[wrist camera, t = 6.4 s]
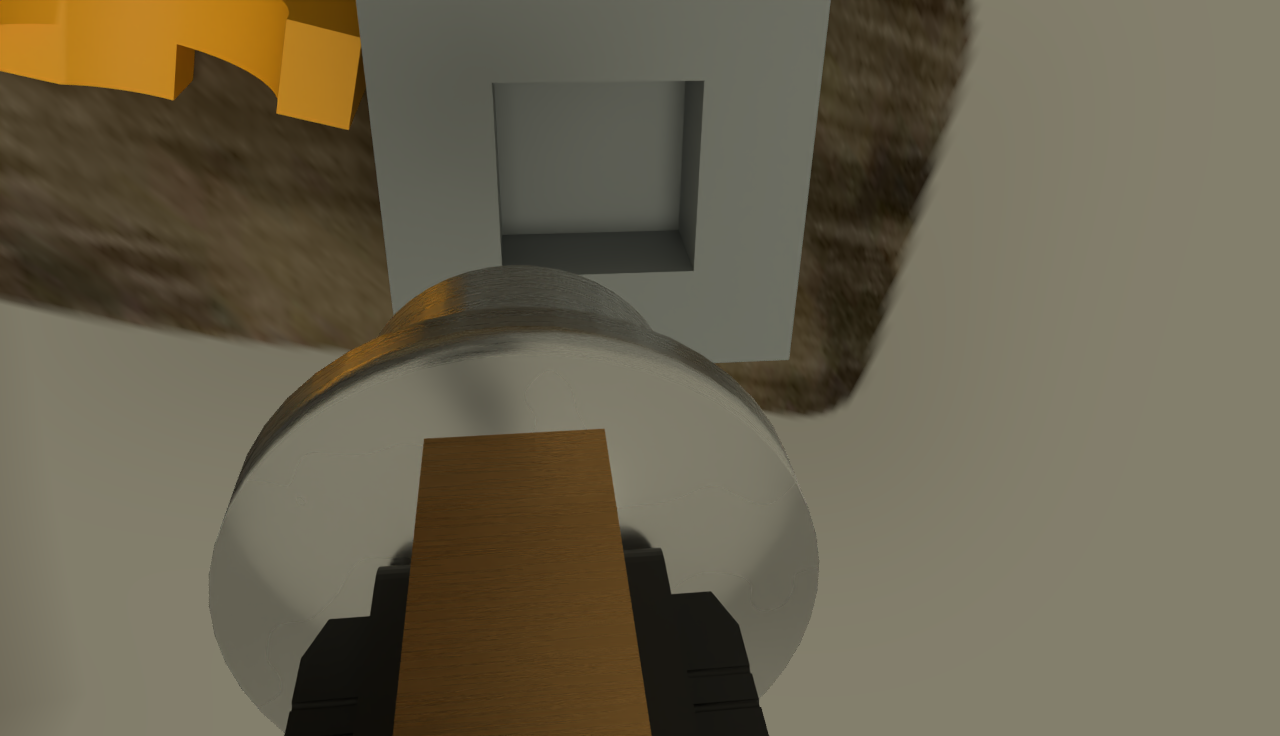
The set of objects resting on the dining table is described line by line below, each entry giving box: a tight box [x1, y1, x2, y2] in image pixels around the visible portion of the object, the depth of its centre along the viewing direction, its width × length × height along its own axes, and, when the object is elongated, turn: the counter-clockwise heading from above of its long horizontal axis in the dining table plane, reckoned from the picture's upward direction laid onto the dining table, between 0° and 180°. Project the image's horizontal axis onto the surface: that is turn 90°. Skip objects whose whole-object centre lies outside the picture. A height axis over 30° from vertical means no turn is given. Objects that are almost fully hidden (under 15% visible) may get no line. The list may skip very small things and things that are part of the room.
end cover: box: [209, 265, 819, 736], centre depth 11 cm, size 7×7×9 cm
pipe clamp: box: [0, 0, 366, 130], centre depth 29 cm, size 12×4×6 cm, turn 74°
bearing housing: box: [356, 0, 831, 363], centre depth 31 cm, size 12×12×8 cm
